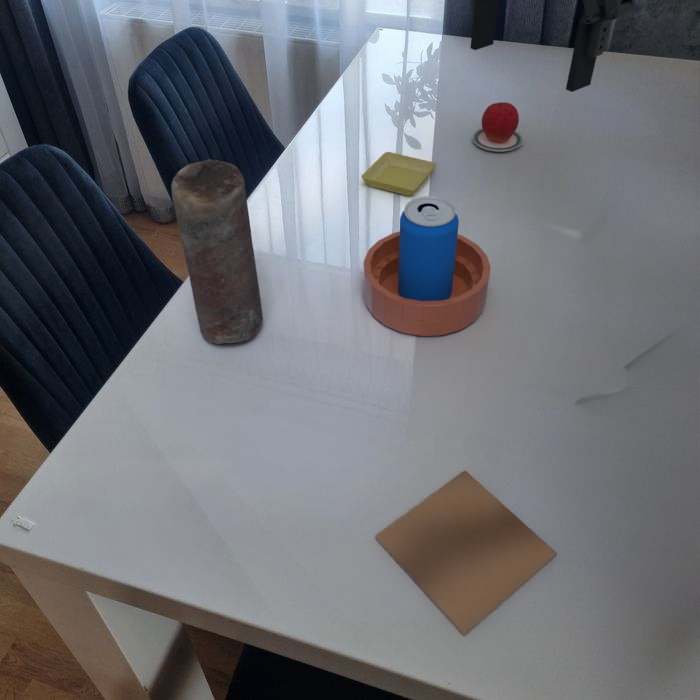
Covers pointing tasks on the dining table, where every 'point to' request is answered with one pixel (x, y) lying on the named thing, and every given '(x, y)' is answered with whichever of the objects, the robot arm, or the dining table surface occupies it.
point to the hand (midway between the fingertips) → (527, 66)
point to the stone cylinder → (218, 250)
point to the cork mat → (465, 551)
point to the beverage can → (427, 249)
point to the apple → (499, 128)
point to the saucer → (398, 173)
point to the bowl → (425, 314)
